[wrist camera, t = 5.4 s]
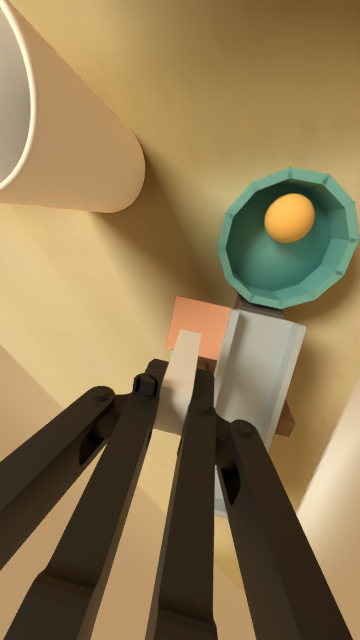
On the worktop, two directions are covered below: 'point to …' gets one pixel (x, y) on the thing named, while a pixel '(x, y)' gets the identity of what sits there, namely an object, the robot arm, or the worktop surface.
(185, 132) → the worktop surface
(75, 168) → the cup
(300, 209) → the ball
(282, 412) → the stand
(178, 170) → the worktop surface
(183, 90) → the worktop surface
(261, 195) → the dish
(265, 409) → the lever
